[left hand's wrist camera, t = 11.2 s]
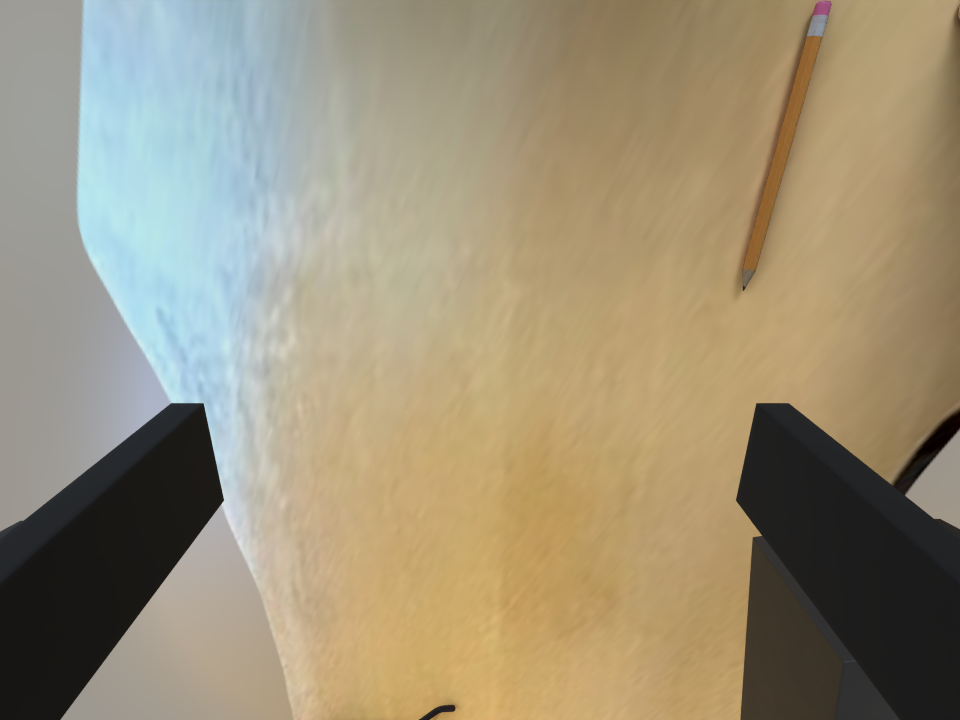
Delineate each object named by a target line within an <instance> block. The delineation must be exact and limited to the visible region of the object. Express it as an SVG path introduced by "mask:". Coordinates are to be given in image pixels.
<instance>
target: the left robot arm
mask: <svg viewBox="0 0 960 720" xmlns="http://www.w3.org/2000/svg"><path fill="white" fill-rule="evenodd" d="M223 501H224V498H223V494H222V489H221V484H220V479H219V475H218V470H217V465H216V460H215V456H214V451H213V446H212V441H211V436H210V432H209V427H208V422H207V417H206V413H205V408H204V403H171V404H170V405H169V406H167V407H166V408H165V409H164V410H162V411H161V412H160V413H159V414H157V415H156V416H155V417H154V418H152V419H151V420H150V421H148V422H147V423H146V424H145V425H143V426H142V427H141V428H140V429H139V430H137V431H136V432H135V433H133V434H132V435H131V436H130V437H128V438H127V439H126V440H125V441H123V442H122V443H121V444H120V445H118V446H117V447H116V448H115V449H113V450H112V451H111V452H110V453H108V454H107V455H106V456H105V457H103V458H102V459H101V460H100V461H98V462H97V463H96V464H94V465H93V466H92V467H91V468H89V469H88V470H87V471H86V472H84V473H83V474H82V475H81V476H79V477H78V478H77V479H76V480H74V481H73V482H72V483H71V484H69V485H68V486H67V487H66V488H64V489H63V490H62V491H61V492H59V493H58V494H57V495H56V496H54V497H53V498H52V499H50V500H49V501H48V502H47V503H46V504H44V505H43V506H42V507H40V508H39V509H38V510H37V511H35V512H34V513H33V514H32V515H30V516H29V517H28V518H27V519H25V520H24V521H19V522H17V523H16V524H14V525H12V526H10V527H8V528H6V529H4V530H2V531H1V532H0V720H60V719H61V718H62V717H63V715H64V714H65V713H66V711H67V710H68V709H69V707H70V706H71V705H72V703H73V702H74V701H75V699H76V698H77V697H78V695H79V694H80V693H81V691H82V690H83V689H84V687H85V686H86V685H87V683H88V682H89V681H90V679H91V678H92V677H93V675H94V674H95V673H96V671H97V670H98V669H99V667H100V666H101V665H102V663H103V662H104V660H105V659H106V658H107V656H108V655H109V654H110V652H111V651H112V650H113V648H114V647H115V646H116V644H117V643H118V642H119V640H120V639H121V638H122V636H123V635H124V634H125V632H126V631H127V630H128V628H129V627H130V626H131V624H132V623H133V622H134V620H135V619H136V618H137V616H138V615H139V614H140V612H141V611H142V610H143V608H144V607H145V606H146V604H147V603H148V602H149V600H150V599H151V597H152V596H153V595H154V593H155V592H156V591H157V589H158V588H159V587H160V585H161V584H162V583H163V581H164V580H165V579H166V577H167V576H168V575H169V573H170V572H171V571H172V569H173V568H174V567H175V565H176V564H177V563H178V561H179V560H180V559H181V557H182V556H183V555H184V553H185V552H186V551H187V549H188V548H189V547H190V545H191V544H192V543H193V541H194V540H195V539H196V537H197V536H198V535H199V533H200V532H201V530H202V529H203V528H204V527H205V525H206V524H207V523H208V521H209V520H210V518H211V517H212V516H213V514H214V513H215V512H216V510H217V509H218V508H219V506H220V505H221V504H222V502H223ZM736 501H737V502H738V504H739V505H740V506H741V508H742V509H743V510H744V512H745V513H746V515H747V516H748V517H749V519H750V520H751V521H752V523H753V524H754V525H755V527H756V528H757V529H758V531H759V532H760V533H761V535H762V536H763V537H764V539H765V540H766V541H767V543H768V544H769V545H770V547H771V548H772V549H773V551H774V552H775V553H776V555H777V556H778V557H779V559H780V560H781V561H782V563H783V564H784V565H785V567H786V568H787V569H788V571H789V572H790V573H791V575H792V576H793V577H794V579H795V580H796V581H797V583H798V584H799V585H800V587H801V588H802V590H803V591H804V592H805V594H806V595H807V596H808V598H809V599H810V600H811V602H812V603H813V604H814V606H815V607H816V608H817V610H818V611H819V612H820V614H821V615H822V616H823V618H824V619H825V620H826V622H827V623H828V624H829V626H830V627H831V628H832V630H833V631H834V632H835V634H836V635H837V636H838V638H839V639H840V640H841V642H842V643H843V644H844V646H845V647H846V648H847V650H848V651H849V652H850V654H851V655H852V656H853V658H854V659H855V660H856V662H857V663H858V665H859V666H860V667H861V669H862V670H863V671H864V673H865V674H866V675H867V677H868V678H869V679H870V681H871V682H872V683H873V685H874V686H875V687H876V689H877V690H878V691H879V693H880V694H881V695H882V697H883V698H884V699H885V701H886V702H887V703H888V705H889V706H890V707H891V709H892V710H893V711H894V713H895V714H896V715H897V717H898V718H899V719H900V720H960V529H958V528H956V527H954V526H952V525H950V524H949V523H947V522H945V521H943V520H941V519H933V518H932V517H931V516H930V515H928V514H927V513H926V512H925V511H923V510H922V509H921V508H920V507H918V506H917V505H916V504H915V503H913V502H912V501H911V500H909V499H908V498H907V497H906V496H904V495H903V494H902V493H901V492H899V491H898V490H897V489H896V488H894V487H893V486H892V485H891V484H889V483H888V482H887V481H886V480H884V479H883V478H882V477H881V476H879V475H878V474H877V473H876V472H874V471H873V470H872V469H871V468H869V467H868V466H867V465H866V464H864V463H863V462H862V461H861V460H859V459H858V458H857V457H855V456H854V455H853V454H852V453H850V452H849V451H848V450H847V449H845V448H844V447H843V446H842V445H840V444H839V443H838V442H837V441H835V440H834V439H833V438H832V437H830V436H829V435H828V434H827V433H825V432H824V431H823V430H822V429H820V428H819V427H818V426H817V425H815V424H814V423H813V422H812V421H810V420H809V419H808V418H807V417H805V416H804V415H803V414H801V413H800V412H799V411H798V410H796V409H795V408H794V407H793V406H791V405H790V404H789V403H756V408H755V413H754V417H753V422H752V427H751V432H750V436H749V441H748V446H747V451H746V456H745V460H744V465H743V470H742V475H741V479H740V484H739V489H738V494H737V498H736Z"/></svg>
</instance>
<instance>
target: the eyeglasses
mask: <svg viewBox="0 0 960 720" xmlns="http://www.w3.org/2000/svg"><path fill="white" fill-rule="evenodd" d="M453 711H455V706H454V705H444V706H439V707H437V708H435V709H434V710H432V711H431V712H429V713H428V714H426V715H425V716H424V717H422V718H421V719H419V720H430V719H431V718H433V717H434V716H436V715H437V714H439V713H441V712H453Z"/></svg>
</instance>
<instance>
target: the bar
mask: <svg viewBox="0 0 960 720" xmlns="http://www.w3.org/2000/svg"><path fill="white" fill-rule="evenodd" d="M740 720H900V719H899V718H898V717H897V715H896V714H895V713H894V711H893V710H892V709H891V707H890V706H889V705H888V703H887V702H886V701H885V699H884V698H883V697H882V695H881V694H880V693H879V691H878V690H877V689H876V687H875V686H874V685H873V683H872V682H871V681H870V679H869V678H868V677H867V675H866V674H865V673H864V671H863V670H862V669H861V667H860V666H859V665H858V663H857V662H856V660H855V659H854V658H853V656H852V655H851V654H850V652H849V651H848V650H847V648H846V647H845V646H844V644H843V643H842V642H841V640H840V639H839V638H838V636H837V635H836V634H835V632H834V631H833V630H832V628H831V627H830V626H829V624H828V623H827V622H826V620H825V619H824V618H823V616H822V615H821V614H820V612H819V611H818V610H817V608H816V607H815V606H814V604H813V603H812V602H811V600H810V599H809V598H808V596H807V595H806V594H805V592H804V591H803V590H802V588H801V587H800V585H799V584H798V583H797V581H796V580H795V579H794V577H793V576H792V575H791V573H790V572H789V571H788V569H787V568H786V567H785V565H784V564H783V563H782V561H781V560H780V559H779V557H778V556H777V555H776V553H775V552H774V551H773V549H772V548H771V547H770V545H769V544H768V543H767V541H766V540H765V539H764V537H763V536H759V537H753V542H752V557H751V572H750V586H749V601H748V616H747V631H746V646H745V660H744V675H743V690H742V705H741V719H740Z"/></svg>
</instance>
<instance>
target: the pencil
mask: <svg viewBox="0 0 960 720" xmlns="http://www.w3.org/2000/svg"><path fill="white" fill-rule="evenodd" d="M830 8H831V2H830V1H820V2H818V3H817V4H816V5H815V9H814V13H813V16H812V19H811V22H810V27H809V30H808V34H807V38H806V42H805V45H804V49H803V53H802V56H801V60H800V64H799V67H798V71H797V74H796V78H795V82H794V85H793V89H792V93H791V96H790V100H789V103H788V107H787V111H786V114H785V118H784V121H783V125H782V129H781V132H780V136H779V140H778V143H777V147H776V150H775V154H774V158H773V161H772V165H771V169H770V172H769V176H768V179H767V183H766V187H765V190H764V194H763V197H762V201H761V205H760V208H759V212H758V216H757V219H756V223H755V226H754V230H753V234H752V237H751V241H750V244H749V248H748V252H747V255H746V259H745V263H744V266H743V291H744V289H745V288H746V286H747V284H748V283H749V281H750V279H751V278H752V276H753V274H754V272H755V270H756V267H757V263H758V260H759V256H760V253H761V249H762V246H763V242H764V239H765V235H766V232H767V228H768V225H769V221H770V218H771V214H772V211H773V207H774V204H775V200H776V197H777V193H778V190H779V186H780V183H781V179H782V176H783V172H784V169H785V165H786V162H787V158H788V155H789V151H790V148H791V144H792V141H793V137H794V134H795V130H796V127H797V123H798V120H799V116H800V113H801V109H802V106H803V102H804V99H805V95H806V92H807V88H808V85H809V81H810V78H811V74H812V71H813V67H814V64H815V60H816V57H817V53H818V50H819V46H820V43H821V39H822V37H823V34H824V29H825V26H826V24H827V20H828V15H829V12H830Z"/></svg>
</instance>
